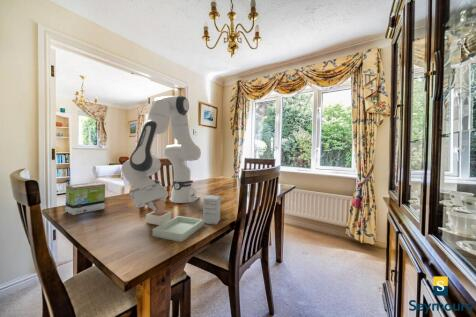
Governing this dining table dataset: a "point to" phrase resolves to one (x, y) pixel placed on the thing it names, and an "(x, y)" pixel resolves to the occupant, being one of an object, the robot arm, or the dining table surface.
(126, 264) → the dining table surface
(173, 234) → the tray
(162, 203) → the terracotta jar
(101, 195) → the tea box
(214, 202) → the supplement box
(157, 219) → the white square dish
